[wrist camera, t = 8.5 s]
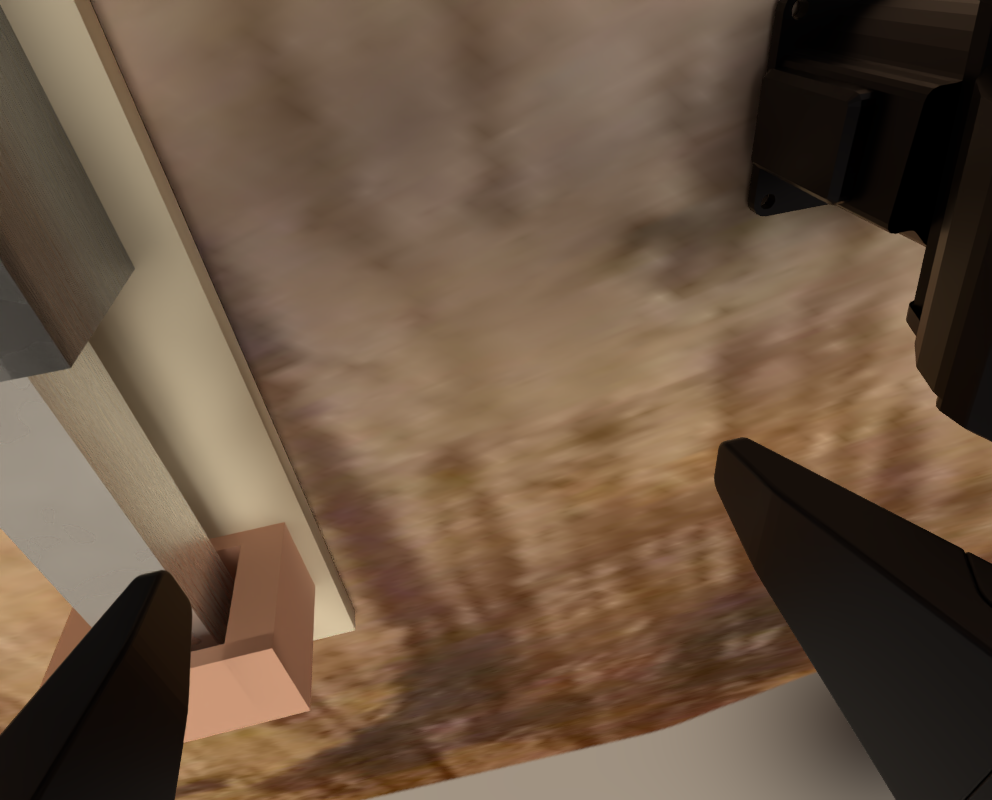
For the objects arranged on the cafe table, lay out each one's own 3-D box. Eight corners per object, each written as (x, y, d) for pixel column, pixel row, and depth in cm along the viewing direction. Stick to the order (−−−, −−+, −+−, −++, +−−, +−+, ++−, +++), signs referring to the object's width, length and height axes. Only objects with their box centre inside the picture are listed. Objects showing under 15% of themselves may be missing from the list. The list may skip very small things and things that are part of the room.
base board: (19, -162, 13) (-2, -169, 12) (354, 612, 30) (355, 630, 29) (-468, -107, 12) (-526, -111, 11) (165, 657, 29) (160, 677, 28)
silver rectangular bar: (-15, 171, 14) (-87, 217, 12) (248, 602, 24) (238, 673, 22) (-156, 194, 14) (-259, 245, 11) (171, 621, 24) (153, 694, 22)
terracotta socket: (284, 522, 24) (271, 648, 20) (315, 586, 26) (310, 710, 22) (89, 566, 23) (31, 707, 19) (140, 627, 26) (99, 764, 21)
